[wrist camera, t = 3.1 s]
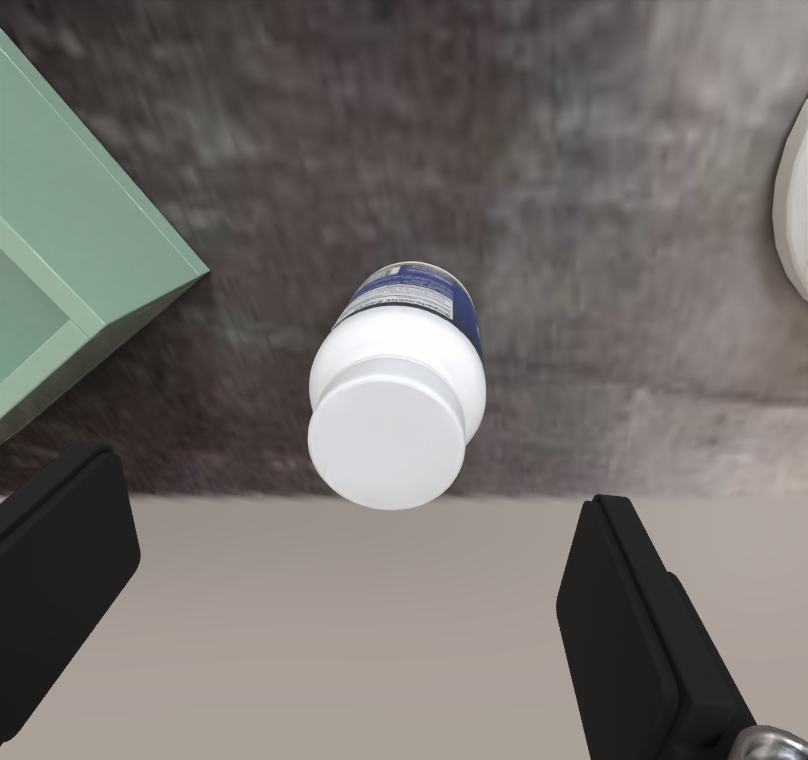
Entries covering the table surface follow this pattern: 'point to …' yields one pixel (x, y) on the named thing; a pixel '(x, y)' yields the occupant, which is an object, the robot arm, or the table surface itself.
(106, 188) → the green open box
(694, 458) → the table surface
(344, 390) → the pill bottle
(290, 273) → the table surface
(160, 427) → the table surface
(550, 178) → the table surface
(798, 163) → the robot arm
